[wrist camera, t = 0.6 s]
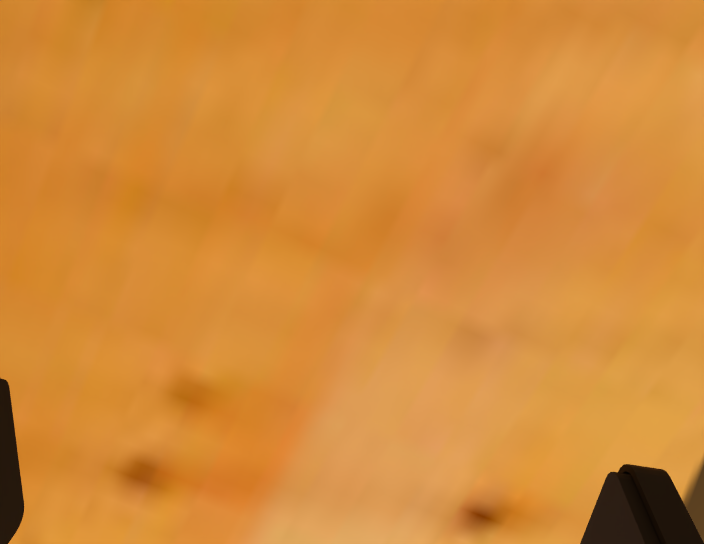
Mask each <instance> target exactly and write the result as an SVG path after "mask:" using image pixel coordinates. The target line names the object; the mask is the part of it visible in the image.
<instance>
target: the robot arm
mask: <svg viewBox="0 0 704 544" xmlns="http://www.w3.org/2000/svg"><path fill="white" fill-rule="evenodd" d="M23 513H24V500H23V493H22V485H21V477H20V469H19V461H18V453H17V445H16V437H15V429H14V421H13V413H12V405H11V398H10V390H9V385H8V382H7V381H6V380H4V379H0V544H8V543H9V541H10V540H11V538H12V537H13V536H14V534H15V533H16V531H17V529H18V528H19V525H20V523H21V521H22V517H23ZM580 544H704V543H703V541H702V539H701V537H700V535H699V533H698V531H697V529H696V527H695V525H694V523H693V521H692V519H691V517H690V515H689V513H688V511H687V509H686V507H685V505H684V503H683V501H682V499H681V497H680V495H679V494H678V492H677V490H676V488H675V486H674V484H673V482H672V480H671V478H670V476H669V475H668V473H667V472H666V471H664V470H662V469H656V468H649V467H642V466H636V465H629V464H626V465H623V466H622V467H621V468H620V470H619V471H618V473H617V472H610V473H609V474H608V475H607V477H606V479H605V482H604V485H603V487H602V490H601V492H600V495H599V497H598V500H597V502H596V505H595V507H594V510H593V513H592V515H591V518H590V520H589V523H588V525H587V528H586V530H585V533H584V536H583V538H582V541H581V543H580Z"/></svg>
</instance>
